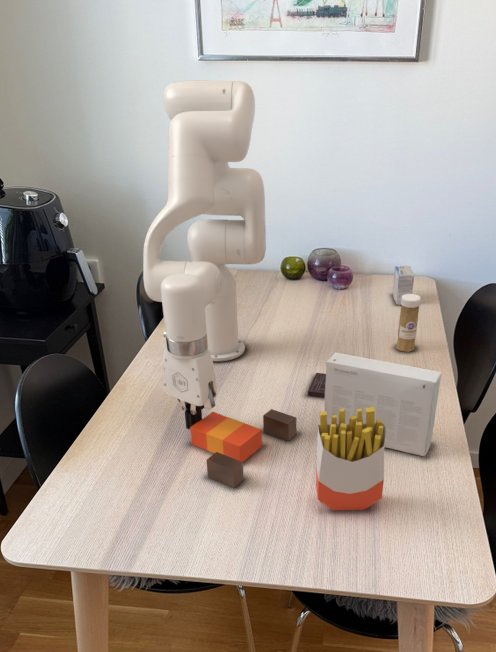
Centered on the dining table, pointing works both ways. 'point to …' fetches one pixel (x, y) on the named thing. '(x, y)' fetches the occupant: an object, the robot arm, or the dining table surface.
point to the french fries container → (350, 461)
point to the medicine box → (402, 282)
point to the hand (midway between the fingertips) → (194, 426)
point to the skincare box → (385, 398)
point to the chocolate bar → (318, 385)
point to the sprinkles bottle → (408, 322)
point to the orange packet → (226, 436)
